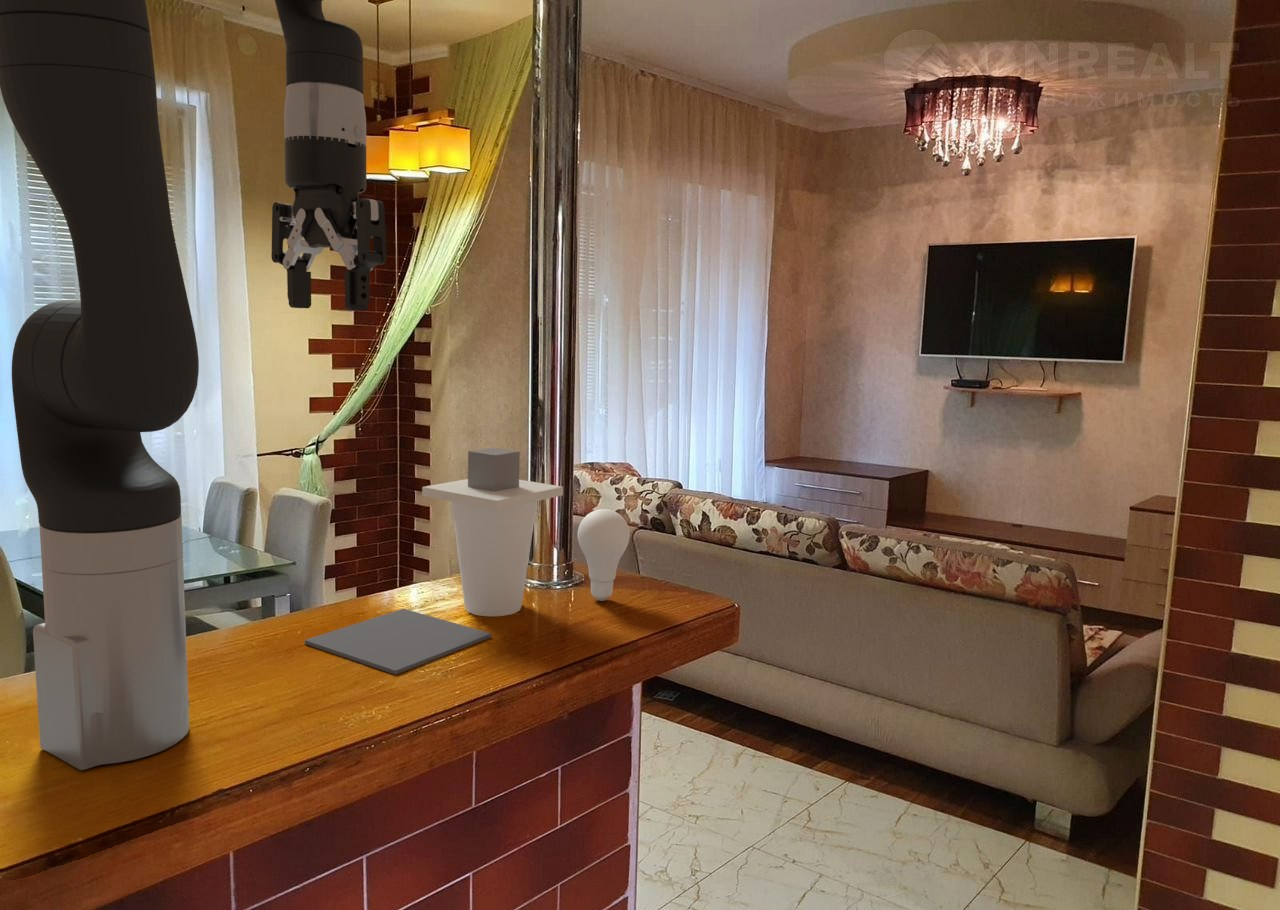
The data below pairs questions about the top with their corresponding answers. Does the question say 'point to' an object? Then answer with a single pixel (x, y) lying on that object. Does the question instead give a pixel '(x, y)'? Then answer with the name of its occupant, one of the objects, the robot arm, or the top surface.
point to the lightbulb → (603, 548)
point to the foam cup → (493, 555)
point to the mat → (398, 640)
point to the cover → (493, 483)
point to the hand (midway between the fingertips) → (327, 309)
